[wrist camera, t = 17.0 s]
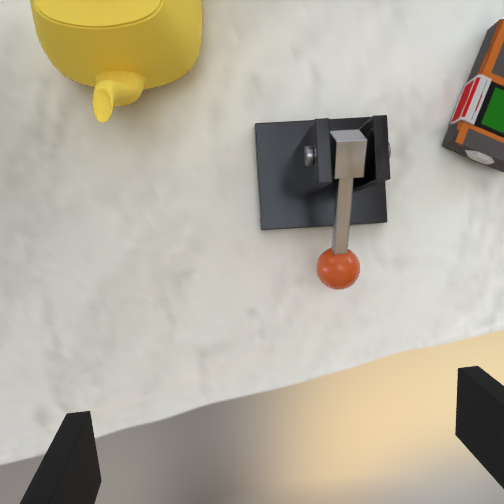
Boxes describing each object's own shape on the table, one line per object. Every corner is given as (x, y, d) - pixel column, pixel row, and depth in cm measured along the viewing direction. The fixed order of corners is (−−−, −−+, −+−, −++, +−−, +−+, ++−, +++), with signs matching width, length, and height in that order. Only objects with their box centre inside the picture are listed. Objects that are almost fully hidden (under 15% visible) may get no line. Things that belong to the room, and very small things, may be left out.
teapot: (202, -62, 43) (186, -189, 30) (210, 151, 43) (198, 116, 30) (55, -59, 42) (-25, -187, 29) (65, 156, 43) (-8, 121, 30)
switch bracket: (383, 222, 44) (442, 216, 31) (260, 230, 44) (269, 227, 31) (378, 119, 44) (435, 70, 31) (254, 126, 43) (261, 79, 30)
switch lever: (352, 272, 40) (362, 296, 37) (312, 274, 40) (319, 299, 37) (366, 126, 33) (380, 141, 30) (318, 128, 33) (327, 144, 30)
